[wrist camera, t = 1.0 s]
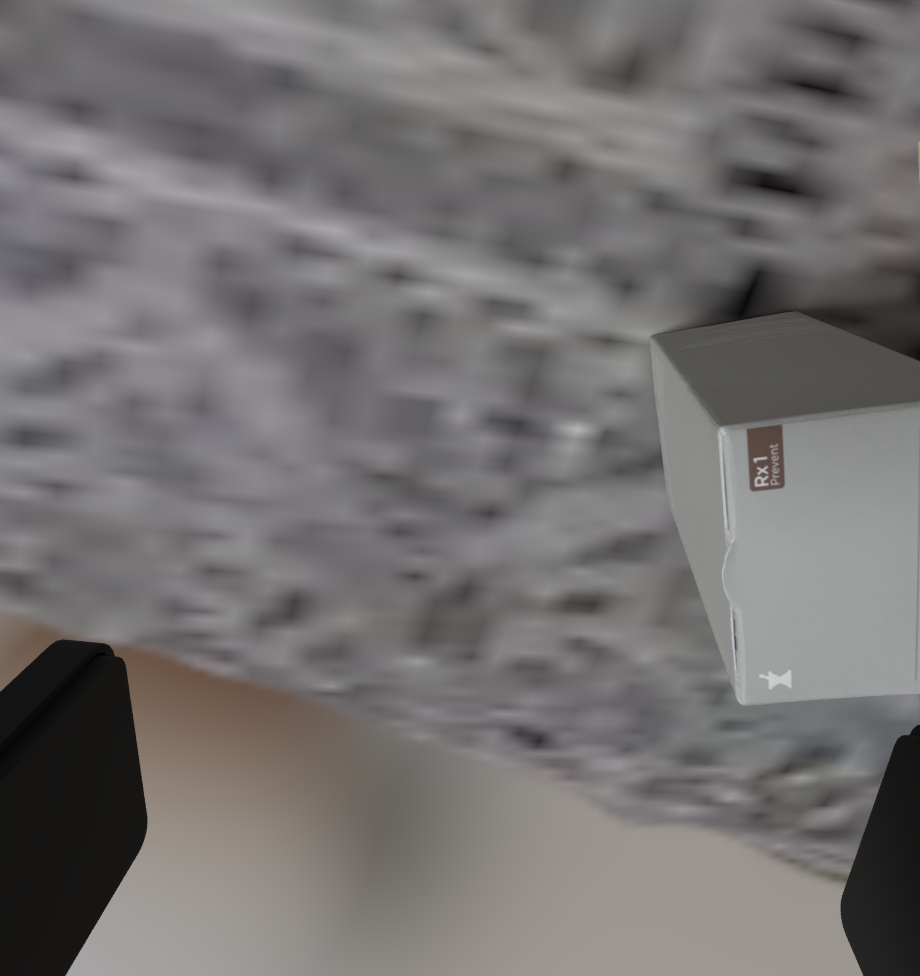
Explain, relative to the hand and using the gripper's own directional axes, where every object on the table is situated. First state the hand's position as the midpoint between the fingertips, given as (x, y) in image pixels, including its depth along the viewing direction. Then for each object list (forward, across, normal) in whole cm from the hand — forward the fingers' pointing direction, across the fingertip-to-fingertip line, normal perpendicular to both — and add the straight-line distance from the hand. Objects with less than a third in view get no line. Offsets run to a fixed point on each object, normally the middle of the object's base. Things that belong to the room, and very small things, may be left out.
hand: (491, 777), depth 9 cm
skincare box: (+26, -9, +2) cm, 27 cm away
